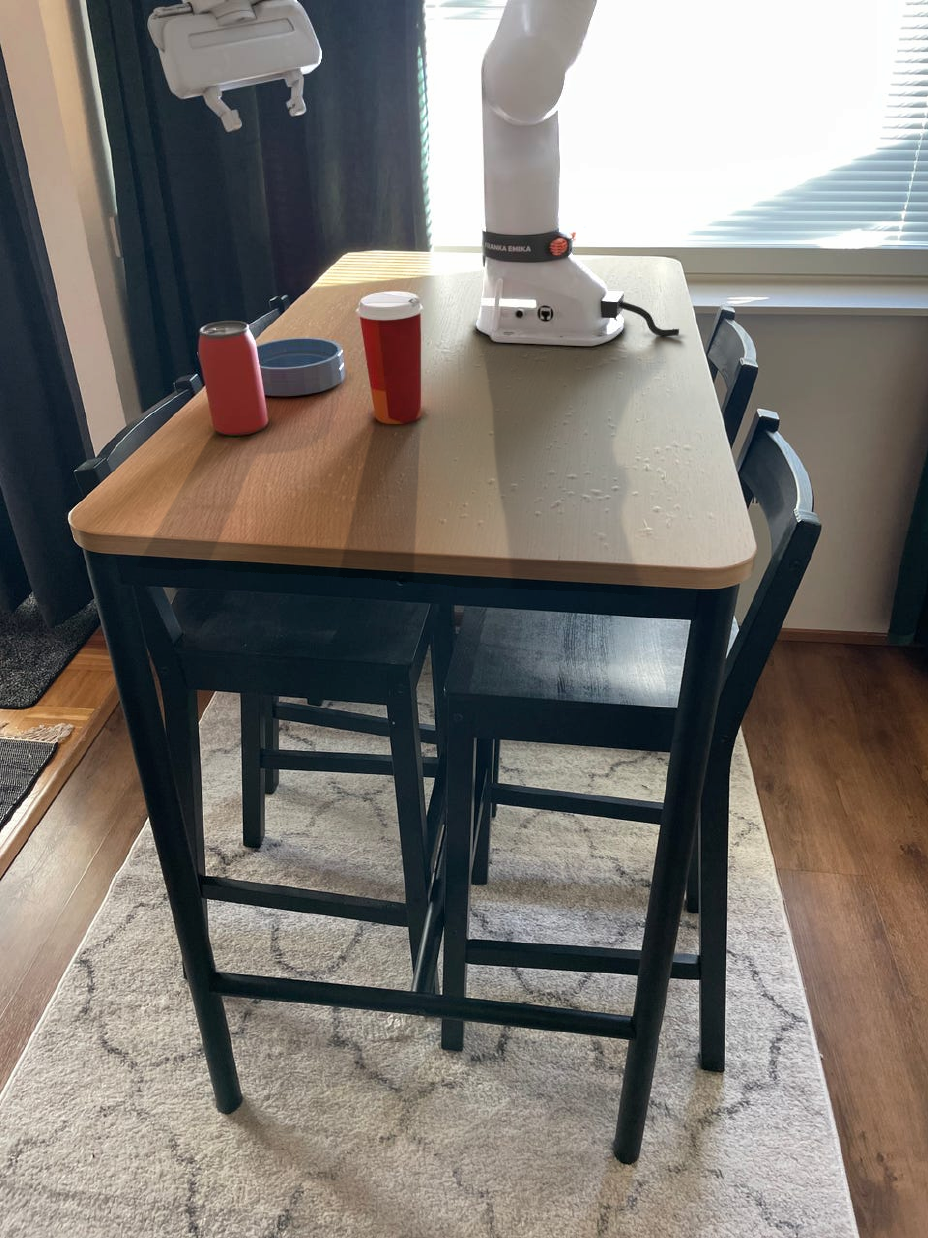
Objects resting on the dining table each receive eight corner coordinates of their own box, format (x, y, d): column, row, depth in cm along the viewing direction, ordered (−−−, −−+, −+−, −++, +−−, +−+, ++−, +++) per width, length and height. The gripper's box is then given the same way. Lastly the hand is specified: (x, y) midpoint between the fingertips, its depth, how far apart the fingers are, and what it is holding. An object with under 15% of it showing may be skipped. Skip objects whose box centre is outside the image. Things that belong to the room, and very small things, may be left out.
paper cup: (438, 407, 115) (432, 291, 107) (415, 430, 109) (407, 309, 101) (380, 401, 117) (370, 288, 110) (355, 424, 111) (343, 305, 104)
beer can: (217, 419, 114) (198, 321, 107) (271, 415, 115) (255, 317, 108) (210, 439, 109) (190, 337, 102) (266, 436, 109) (250, 334, 102)
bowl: (363, 371, 127) (360, 342, 125) (310, 404, 117) (306, 373, 115) (283, 361, 132) (279, 333, 130) (226, 391, 122) (221, 362, 120)
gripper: (149, -4, 102) (202, 128, 107) (302, -25, 112) (345, 96, 117) (133, 22, 107) (184, 147, 112) (280, -1, 117) (322, 114, 122)
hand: (267, 121), depth 114 cm, fingers open, 8 cm apart
